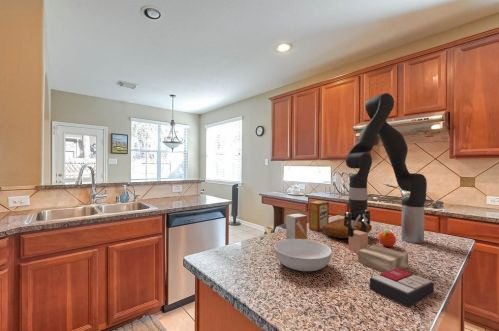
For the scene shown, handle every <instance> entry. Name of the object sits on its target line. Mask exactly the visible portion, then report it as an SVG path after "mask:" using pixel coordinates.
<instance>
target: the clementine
mask: <svg viewBox="0 0 499 331" xmlns="http://www.w3.org/2000/svg"><path fill="white" fill-rule="evenodd" d="M378 240H379V243H380V244H381V246H383V247H385V248H387V247H388V248H390V247H393V246H394V245H395V244H396V242H397V239H396V235H395V234H394V233H392V232H391V231H388V230H384V231H382V232H380V233H379V235H378Z"/></svg>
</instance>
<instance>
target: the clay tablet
mask: <svg viewBox="0 0 499 331" xmlns="http://www.w3.org/2000/svg"><path fill="white" fill-rule="evenodd" d="M352 221H353V220H352ZM347 224H348V221H347ZM351 225H352V223H351ZM353 228H354V231H355V230H358V231H361V223H360V221H359V222H357V223H356V224H355V225H354V227H353ZM371 231H372V225H371V223H370V224H368V225H367V232H366V233H368V234H369V232H371ZM323 232H324V233H325V234H326V235H329V236H331V237H334V238H338V239H349V236H348V227H346V226H344V218H340V219H336V220H332V221H331V222H330V221H329V223H328V224H326V225H325V226H324V227H323Z"/></svg>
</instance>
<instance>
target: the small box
mask: <svg viewBox="0 0 499 331" xmlns="http://www.w3.org/2000/svg"><path fill="white" fill-rule="evenodd" d="M285 221H286V222H285V225H286V227H285V231H286V232H285V233H286V234H285V240H287V239H306V240H308V234H307V233H308V215H307V214H306V215H305V214H303V213H302V214H301V213H293V214H286V217H285Z"/></svg>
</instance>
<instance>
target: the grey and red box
mask: <svg viewBox="0 0 499 331" xmlns="http://www.w3.org/2000/svg"><path fill="white" fill-rule="evenodd" d="M369 290H370V291H372V292H374V293H376V294H379V295H381V296H382V297H385V298H386V299H389V300H391V301H393V302H396V303H398V304H399V305H401V306H404V307H406V308H410V307H412V306H414V305H416V304H418V302H420V301H421V300H423V299H425V298H427V297H429V296H430V295H432V294H434V292H435V283H434V282H432V280H430V279H427V278H424V277H421V276H418V275H416V274H412V273H410V272H407V271H405V270H403V269H402V270H399V269H394V270H391V271H388V272H381V273H380V274H378V275H375V276H374V275H373V276H372V277H370V278H369Z"/></svg>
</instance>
